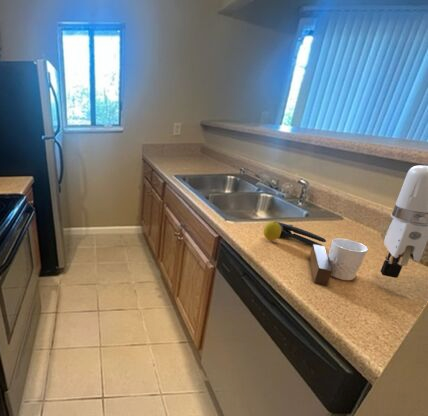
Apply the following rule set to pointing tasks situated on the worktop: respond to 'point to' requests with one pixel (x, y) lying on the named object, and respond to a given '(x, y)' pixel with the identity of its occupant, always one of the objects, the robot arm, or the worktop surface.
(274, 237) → the lemon
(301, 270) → the worktop surface
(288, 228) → the can opener
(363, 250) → the white cup
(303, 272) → the worktop surface
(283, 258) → the worktop surface
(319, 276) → the walnut rail
